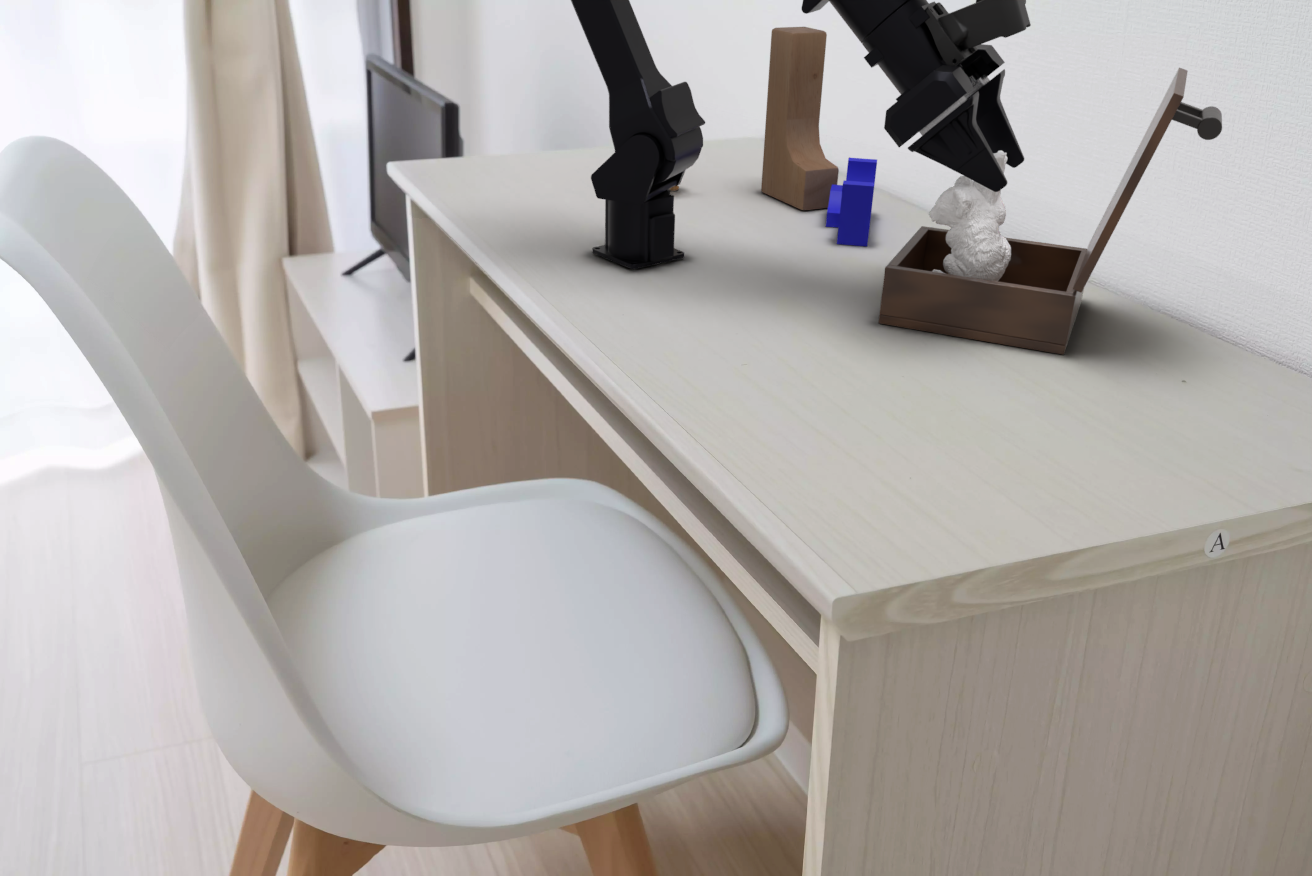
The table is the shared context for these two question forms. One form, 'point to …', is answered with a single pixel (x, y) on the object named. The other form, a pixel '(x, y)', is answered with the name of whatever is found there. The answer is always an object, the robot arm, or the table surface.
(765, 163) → the wooden block
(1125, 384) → the table surface
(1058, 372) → the table surface
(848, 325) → the table surface
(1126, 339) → the table surface
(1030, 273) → the chest
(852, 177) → the cable clip
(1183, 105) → the chest lid
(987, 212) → the white sculpted figure
